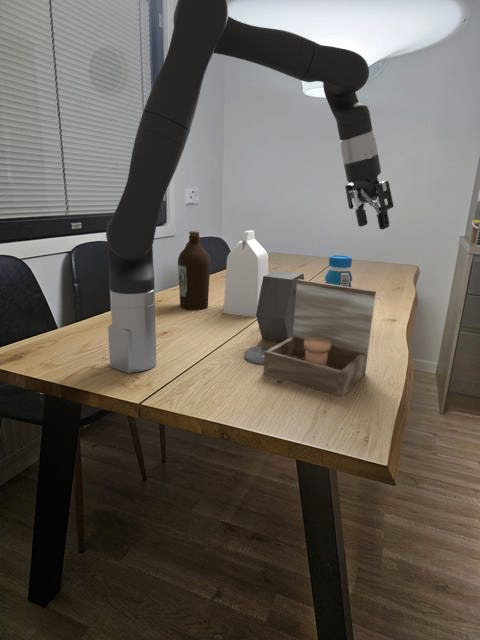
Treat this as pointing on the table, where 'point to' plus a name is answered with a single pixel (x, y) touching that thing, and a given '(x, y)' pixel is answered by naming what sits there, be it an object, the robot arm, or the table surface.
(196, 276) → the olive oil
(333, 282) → the beverage bottle
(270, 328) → the planter
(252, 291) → the milk
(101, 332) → the table surface
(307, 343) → the round cabinet knob
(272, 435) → the table surface
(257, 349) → the saucer
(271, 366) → the hinged wooden box
